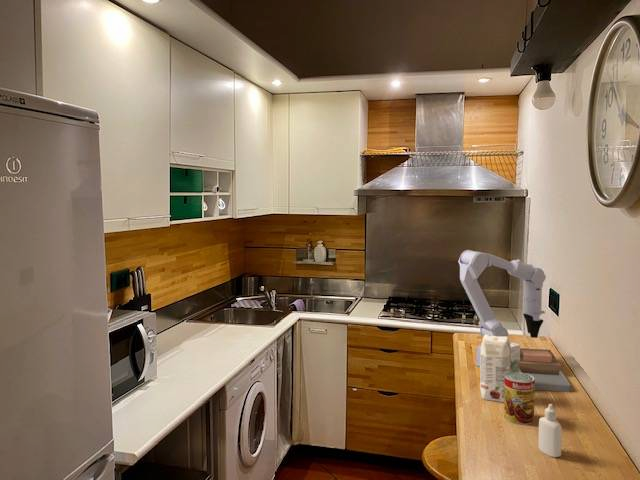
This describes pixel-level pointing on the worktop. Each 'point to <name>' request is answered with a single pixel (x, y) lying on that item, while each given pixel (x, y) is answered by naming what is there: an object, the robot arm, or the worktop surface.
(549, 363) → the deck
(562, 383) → the tray
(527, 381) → the canned food
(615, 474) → the worktop surface
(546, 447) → the eye dropper bottle
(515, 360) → the syrup box
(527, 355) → the tile
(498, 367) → the juice carton
